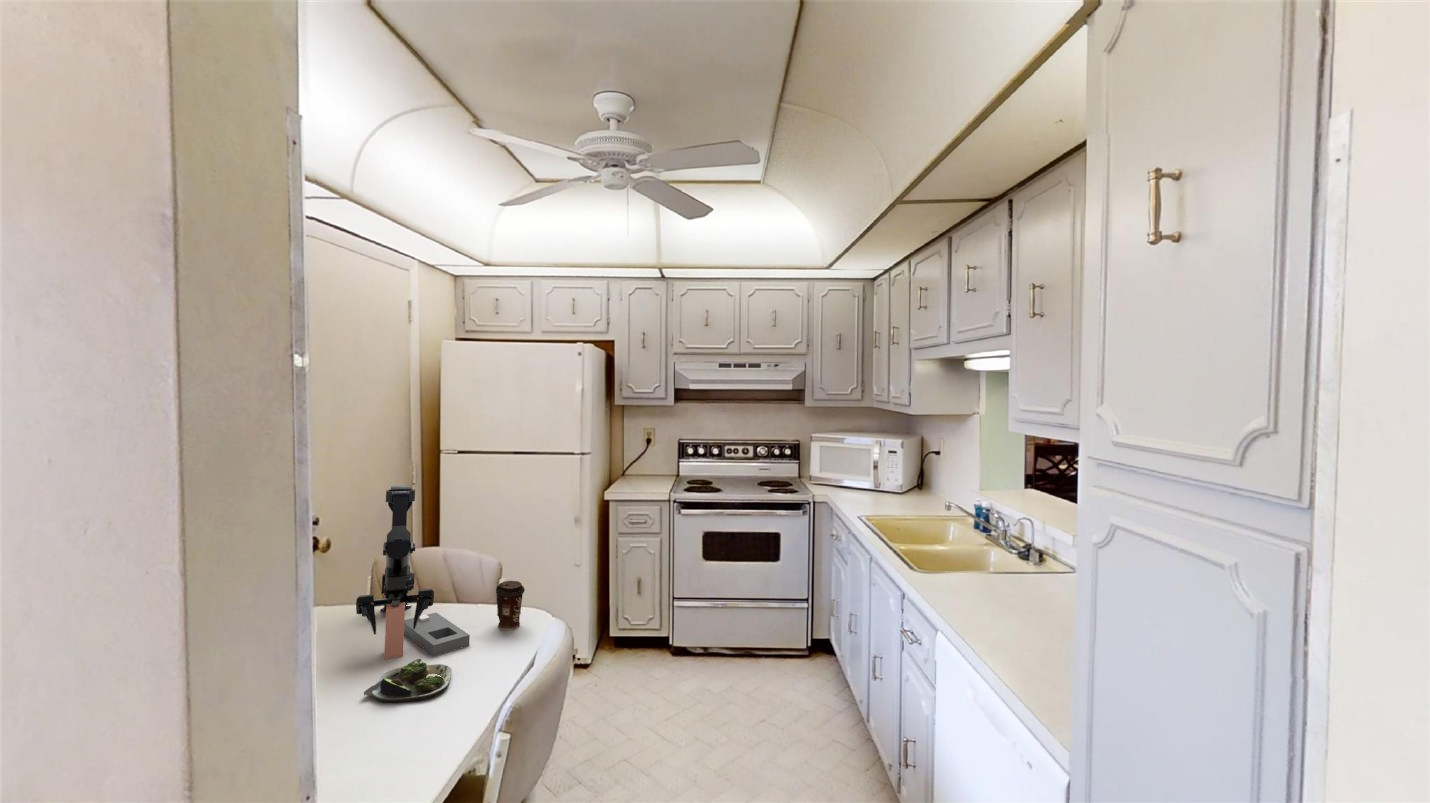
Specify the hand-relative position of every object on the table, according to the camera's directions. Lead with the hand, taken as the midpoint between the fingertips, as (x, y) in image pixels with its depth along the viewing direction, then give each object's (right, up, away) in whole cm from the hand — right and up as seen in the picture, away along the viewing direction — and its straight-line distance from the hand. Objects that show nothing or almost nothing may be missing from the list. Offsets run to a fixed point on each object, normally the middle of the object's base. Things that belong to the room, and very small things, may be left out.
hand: (394, 630), depth 157 cm
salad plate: (+12, -8, -15) cm, 21 cm away
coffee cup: (+22, -8, +23) cm, 33 cm away
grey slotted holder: (+5, -7, +12) cm, 15 cm away
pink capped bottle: (-1, -7, +1) cm, 7 cm away
